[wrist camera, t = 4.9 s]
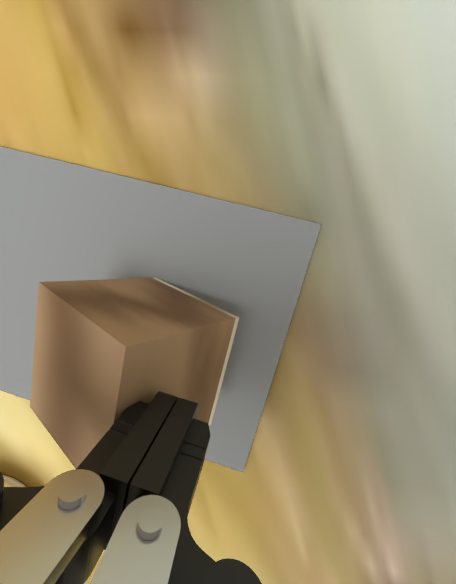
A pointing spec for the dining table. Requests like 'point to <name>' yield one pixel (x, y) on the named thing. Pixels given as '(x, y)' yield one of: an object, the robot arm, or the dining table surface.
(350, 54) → the dining table surface
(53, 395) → the walnut cube
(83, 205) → the mat
